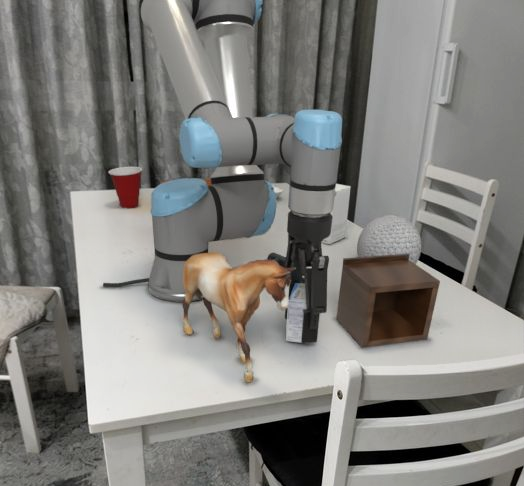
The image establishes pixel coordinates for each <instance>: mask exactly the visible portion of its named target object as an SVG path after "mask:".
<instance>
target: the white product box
mask: <svg viewBox="0 0 524 486" xmlns="http://www.w3.org/2000/svg"><path fill="white" fill-rule="evenodd" d="M351 187H352V186H351V185H345V184H340V183H336V187H335V191H336V192H337V195H336V196H335V197H334V206H333V211H332V212H331V215H332V216H333V217H332V227H331V234H330V236H329V237H327V238H325V239H323V240H322V241H321V244H326V245H331V244H334V243H336V242H338V241H340V240H342V239H345V238H346V236H347V235H346V234H347V226H348V225H347V224H348V215H349V205H350V198H351V197H350V196H351Z"/></svg>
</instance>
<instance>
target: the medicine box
mask: <svg viewBox="0 0 524 486" xmlns="http://www.w3.org/2000/svg"><path fill="white" fill-rule="evenodd" d="M289 303H290V304H289V307H288V308H287V319H286V326H285V327H286V329H285V331H286V332H285V341H286V342H291V343H292V342H293V343H301V344H303V343H302V342H301V341H302V330H303V319H304V312H303V310H305V309H307V304H306V292H305V284H302V283H295V285H294V288H293V290H292V293H291V296H290V298H289ZM306 344H307V345H308V344H309V343H306Z"/></svg>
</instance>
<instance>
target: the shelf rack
mask: <svg viewBox="0 0 524 486" xmlns="http://www.w3.org/2000/svg"><path fill="white" fill-rule="evenodd" d="M440 284H441V280H439V279H438V278H436V277H435V276H433V275H432V274H431V273H429V272H428V271H426V270H425V269H423V268H422V267H420V266H419V265H417V263H416V264H414V263H413V262H411V261H410V260H409V254H395V255H382V256H368V257H358V256H355V257H343V258H342V269H341V276H340V284H339V293H338V302H337V309H336V310H337V311H336V317H335V318H336V321H337V322H338V323H339V324H340V325H341V326H342V327H343V329H344V330H345V331H346V332H347V333H348V334H349V335H350V336H351V337H352V339H353V340H354V341H355V342H356V343H357V344H358V345H359V346H360V347H361V348H369V347H378V346H384V345H393V344H401V343H410V342H417V341H418V342H419V341H426V340H428V338H429V333H430V328H431V324H432V320H433V315H434V310H435V306H436V302H437V298H438V293H439V288H440Z"/></svg>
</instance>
